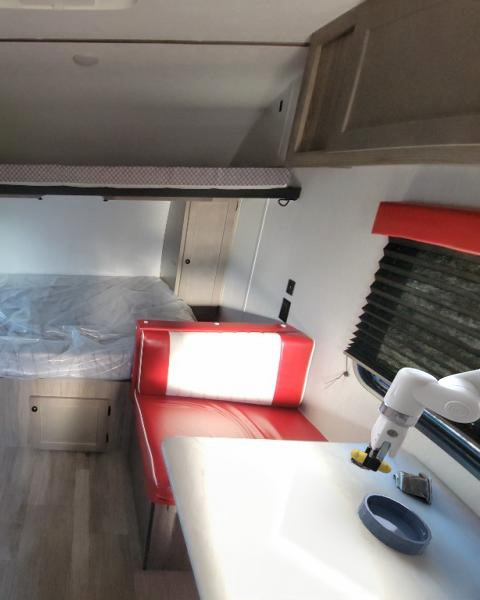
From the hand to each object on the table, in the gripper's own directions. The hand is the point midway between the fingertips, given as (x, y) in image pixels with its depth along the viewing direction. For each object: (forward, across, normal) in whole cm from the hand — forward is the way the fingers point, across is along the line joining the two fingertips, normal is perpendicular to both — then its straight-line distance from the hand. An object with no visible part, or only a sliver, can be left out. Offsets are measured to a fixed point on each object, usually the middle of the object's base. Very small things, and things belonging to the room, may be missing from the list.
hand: (368, 463), depth 94 cm
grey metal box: (+7, +9, -11) cm, 16 cm away
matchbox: (+7, +9, 0) cm, 11 cm away
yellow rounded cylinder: (-1, 0, 0) cm, 1 cm away
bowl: (+6, -13, -6) cm, 16 cm away
